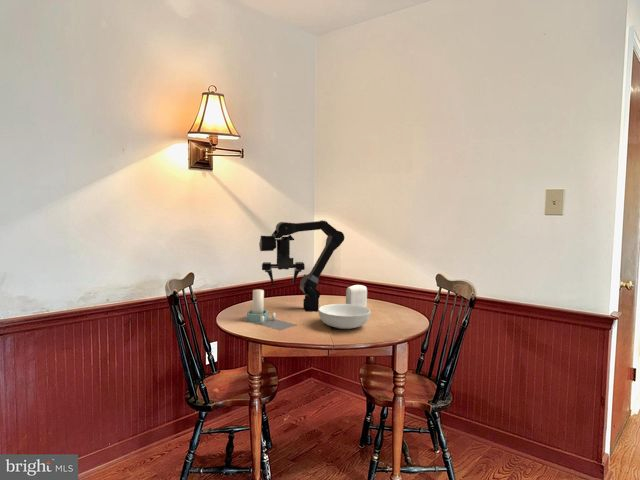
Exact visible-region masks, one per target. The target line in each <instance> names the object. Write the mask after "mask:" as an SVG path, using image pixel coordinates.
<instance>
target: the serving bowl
mask: <svg viewBox="0 0 640 480" xmlns="http://www.w3.org/2000/svg"><path fill="white" fill-rule="evenodd" d="M317 312H318V316H319V318H320V320H321V321H322V322H323V323H324V324H325V325H327V326H329V327H332V328H336V329H341V330H351V329H354V328H355V329H356V328H359V327H362V326H363V325H365V324H366V323H368V321H369V319H370V317H371V310H370V308H368V307H367V306H366V307H363V306H358V305H351V304H346V303H332V304H331V303H330V304H325V305H321V306H319V309H318V311H317Z"/></svg>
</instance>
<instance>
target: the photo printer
mask: <svg viewBox="0 0 640 480" xmlns="http://www.w3.org/2000/svg"><path fill="white" fill-rule="evenodd" d="M367 298H368V288H367V286H365V285H362V284H354V285H351V286H348V287H347V288H346V290H345V304H351V305H358V306H363V307H366V308H367V307H368V306H367V303H368V299H367Z"/></svg>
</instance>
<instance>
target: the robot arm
mask: <svg viewBox="0 0 640 480" xmlns="http://www.w3.org/2000/svg"><path fill="white" fill-rule="evenodd" d="M318 230H319V231H322V232H323V233H324V234H325V235H326V236H327V237H326V240H325V246H324V248H323V249H322V251H321V253H320V255H319V257H318V259H317V260H316V262H315V263H314V265H313V267H312V269H311V270H310V272H309V273H308V274H303V276H302V278H301V280H300V281H299V282H300V284H299V289H300V290H301V291H302V292H303V295H304V298H303V305H302V306H303V309H304V311H305V312H319V311H318V309H319V308H320V306H319V303H320V302H319V301H320V300H319V299H320V297H321V292H320V291H319V290H318V289H317V287H318V284H319V279H320V276H321V274H322V273H323V271H324V269H325V267H326V265H327V264H328V262H329V260H330V258H331V257H332V255H333V253H334V251H335V250H337V249H338V248H339V247H340V246H341V245H342V244H343V242H344V241H345V234H344V232H343V231H340V230H338V229H336V228H335V227H334V226H332V225H331V224H330V223H328V221H326V220H323V219H322V220H318V221H306V222H298V223H297V222H288V221H287V222H286V221H280V222H278V223H277V224H276V225H275V230H274V231H273V232H272V234H271V235H260V240H259V243H258V244H259V251H260V252H273V251H275V250H276V263H272V262H268V261H267V262H266V261H264V262H263V263H261V270H262V271H264V272H265V273H267V274H268V277H269V278H270V282H271V284H272V285H271V286H274V277H273V270H272V269H277V270H280V271H281V270H289V269H294V270H293V271H294V272H293V279H292V286H295V284H296V280H297V278H298V275H299V273H301V272H302V271H304V270H305V269H306V268H305V262H303V261H295V262H294V257H291V256H290V255H291V253H290V252H291V250H290V249H291V247H290V246H291V241H295V237H293V236H292V235H293V234H295V233H296V234H297V233H299V232H308V231H318Z"/></svg>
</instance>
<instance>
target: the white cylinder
mask: <svg viewBox="0 0 640 480" xmlns="http://www.w3.org/2000/svg"><path fill="white" fill-rule="evenodd" d="M264 300H265V290H264V289H259V288H258V289H257V288H256V289H253V290H252V308H251V310H252V314H263V310H265V309H264V305H265V304H264Z"/></svg>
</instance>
